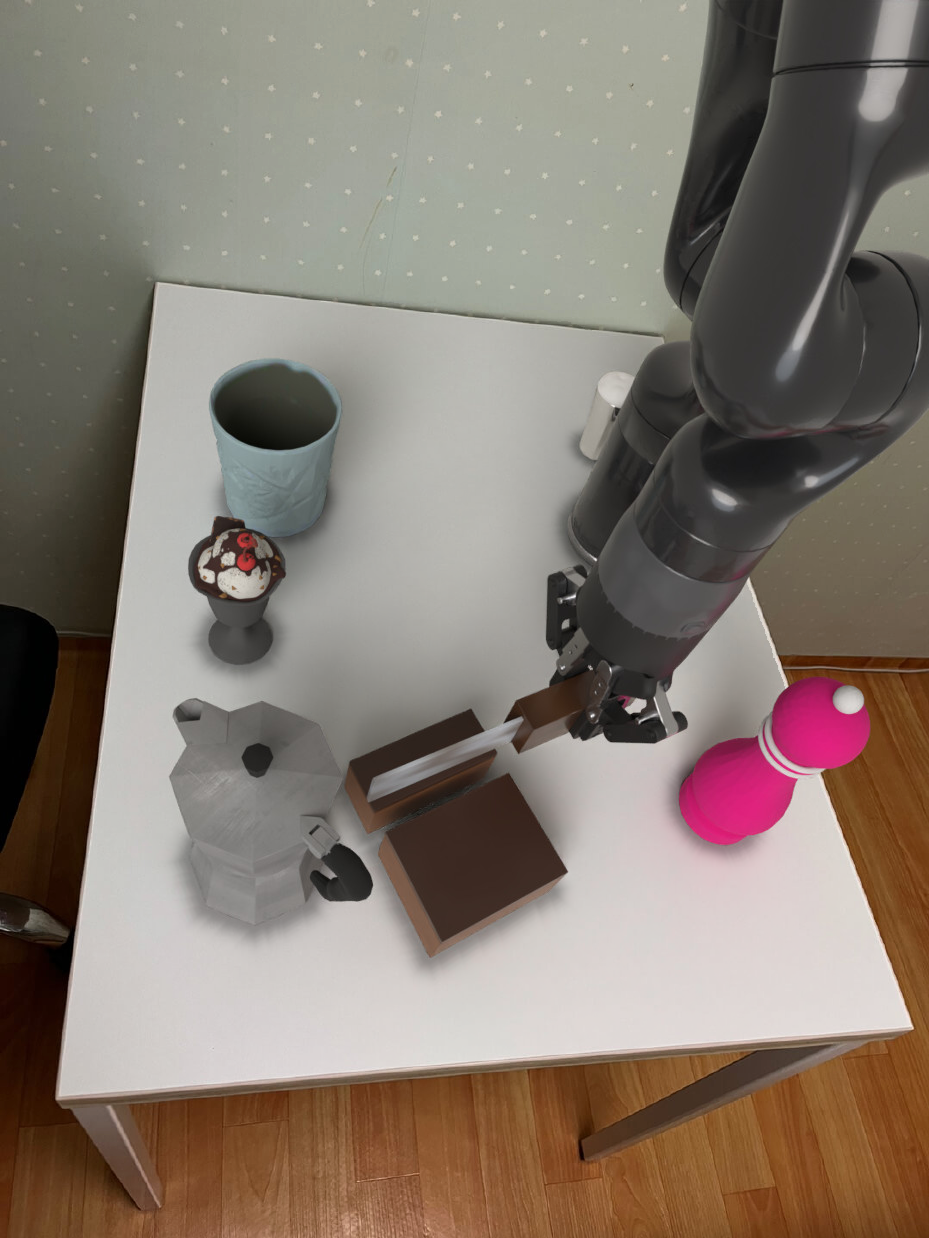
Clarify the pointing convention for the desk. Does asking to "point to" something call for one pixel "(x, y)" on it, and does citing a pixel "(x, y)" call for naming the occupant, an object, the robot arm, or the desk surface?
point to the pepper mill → (774, 760)
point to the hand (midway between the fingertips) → (570, 712)
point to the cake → (469, 863)
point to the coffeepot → (261, 810)
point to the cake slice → (425, 789)
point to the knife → (502, 733)
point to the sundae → (237, 587)
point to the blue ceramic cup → (275, 442)
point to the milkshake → (604, 411)
